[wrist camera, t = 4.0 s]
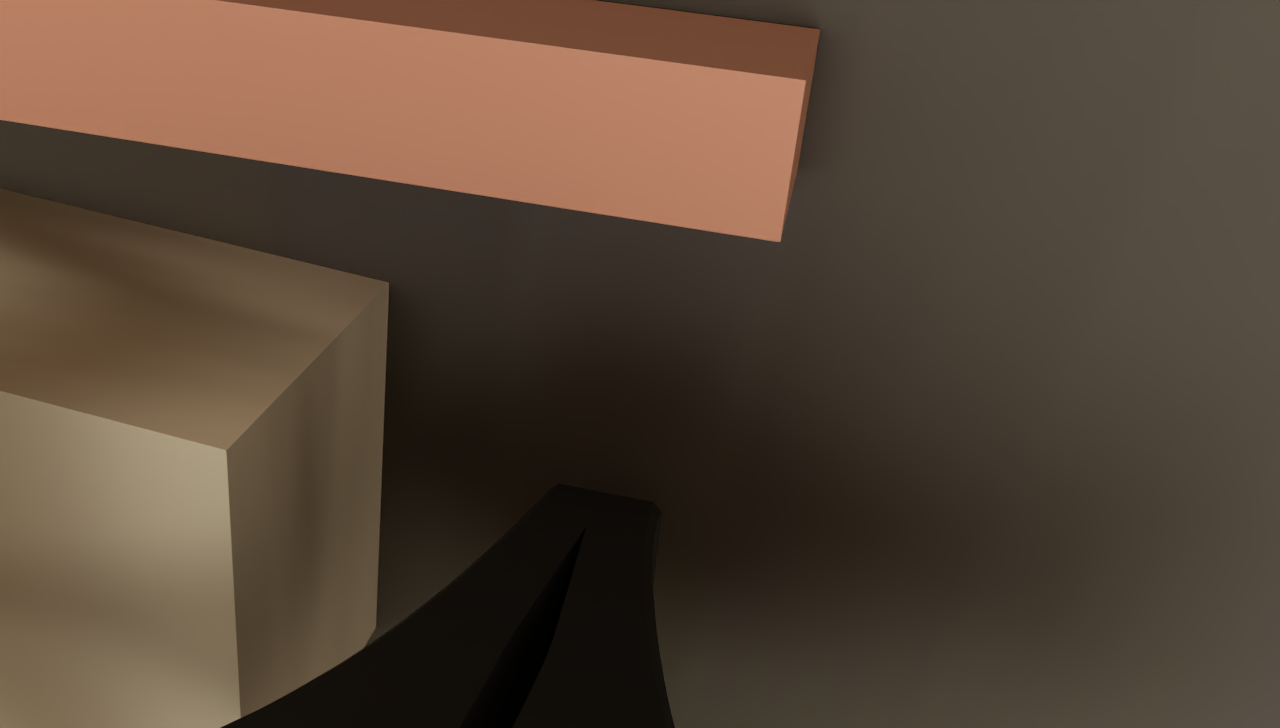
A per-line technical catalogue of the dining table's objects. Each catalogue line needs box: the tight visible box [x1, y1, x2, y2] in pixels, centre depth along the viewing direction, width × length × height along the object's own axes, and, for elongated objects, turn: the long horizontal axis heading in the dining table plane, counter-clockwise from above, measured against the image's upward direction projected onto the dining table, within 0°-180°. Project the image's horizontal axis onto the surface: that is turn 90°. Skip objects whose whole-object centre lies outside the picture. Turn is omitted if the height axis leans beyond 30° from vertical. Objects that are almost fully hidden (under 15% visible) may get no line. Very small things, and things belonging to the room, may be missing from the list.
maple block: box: [0, 189, 389, 728], centre depth 14 cm, size 6×6×4 cm
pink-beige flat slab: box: [0, 0, 820, 242], centre depth 15 cm, size 19×13×2 cm
